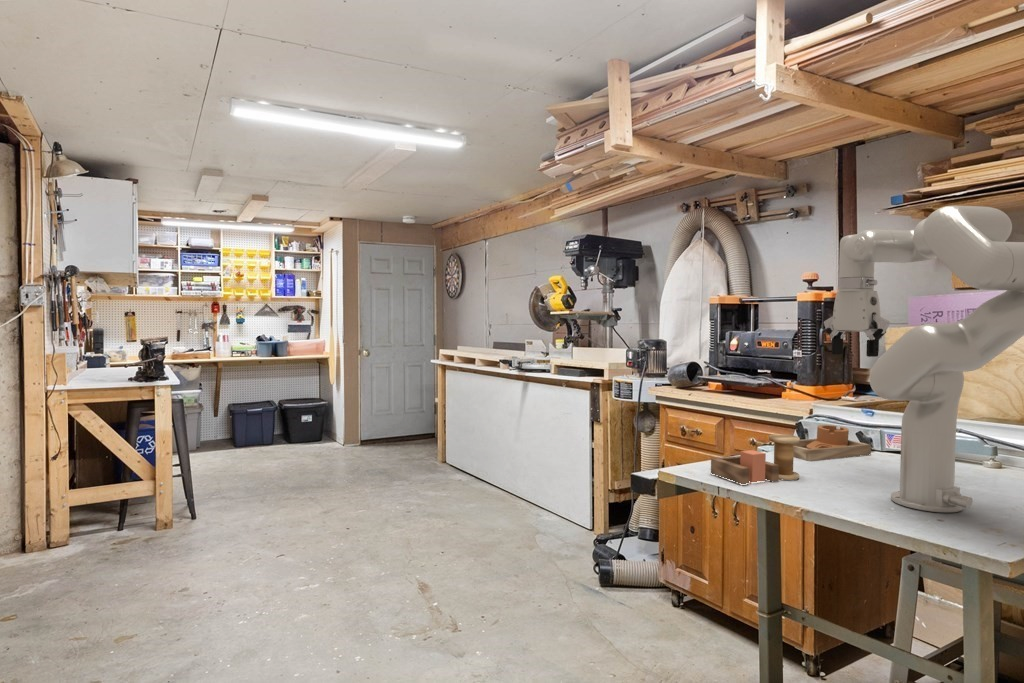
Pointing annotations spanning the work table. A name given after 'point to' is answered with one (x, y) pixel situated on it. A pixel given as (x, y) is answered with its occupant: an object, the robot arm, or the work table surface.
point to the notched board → (740, 469)
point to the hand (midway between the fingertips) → (854, 355)
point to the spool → (784, 454)
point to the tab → (754, 464)
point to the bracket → (829, 437)
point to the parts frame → (830, 451)
